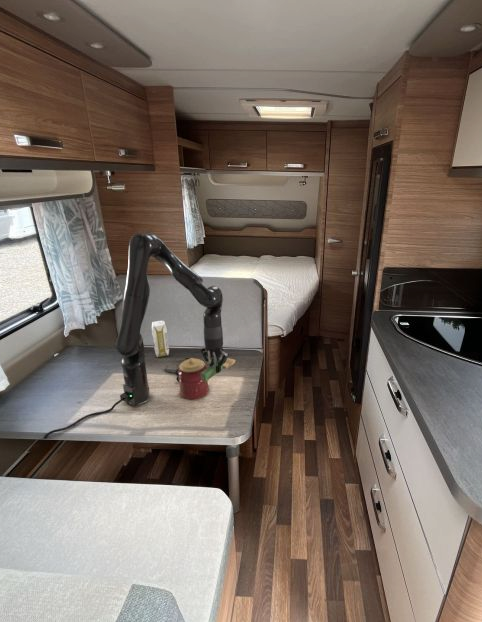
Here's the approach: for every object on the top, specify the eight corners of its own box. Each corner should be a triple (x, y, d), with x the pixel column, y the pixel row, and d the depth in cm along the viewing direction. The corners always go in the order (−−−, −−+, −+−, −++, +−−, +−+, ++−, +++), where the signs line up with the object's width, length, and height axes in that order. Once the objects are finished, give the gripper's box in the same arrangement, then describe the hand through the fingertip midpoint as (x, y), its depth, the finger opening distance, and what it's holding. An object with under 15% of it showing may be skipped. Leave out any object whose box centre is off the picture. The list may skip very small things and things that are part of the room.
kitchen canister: (212, 395, 155) (209, 361, 148) (183, 402, 149) (179, 368, 143) (204, 381, 165) (201, 349, 159) (177, 388, 160) (173, 355, 153)
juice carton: (168, 349, 196) (164, 319, 190) (170, 355, 189) (166, 325, 182) (154, 351, 194) (150, 321, 187) (155, 358, 186) (151, 327, 179)
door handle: (156, 372, 168) (182, 377, 162) (182, 355, 185) (206, 359, 179) (157, 378, 169) (183, 383, 163) (183, 360, 186) (207, 364, 180)
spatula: (209, 382, 136) (208, 375, 135) (198, 379, 138) (197, 372, 137) (235, 362, 152) (235, 355, 151) (225, 359, 154) (225, 352, 153)
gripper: (193, 334, 137) (196, 371, 143) (221, 341, 131) (223, 379, 138) (205, 328, 143) (208, 363, 150) (232, 334, 138) (234, 371, 144)
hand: (215, 371), depth 144 cm, fingers closed on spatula, 2 cm apart
